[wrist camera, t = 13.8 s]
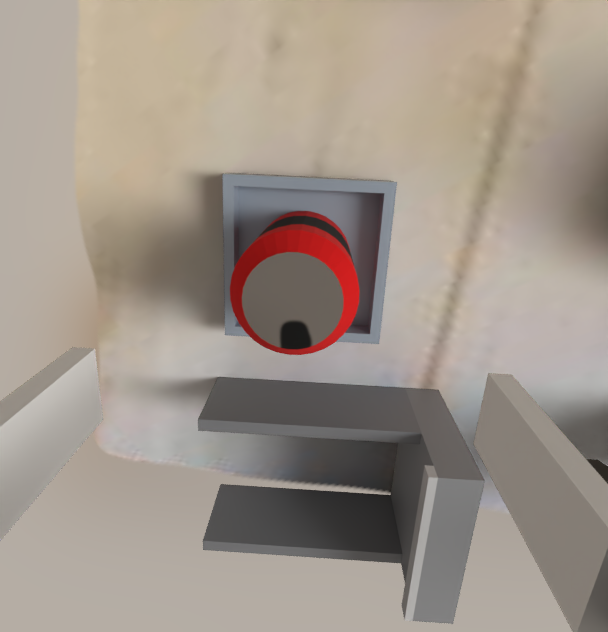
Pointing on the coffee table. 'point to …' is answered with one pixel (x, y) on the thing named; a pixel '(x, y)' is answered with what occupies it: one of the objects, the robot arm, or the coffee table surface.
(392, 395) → the gray open box
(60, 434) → the robot arm
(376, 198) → the tray
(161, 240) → the coffee table surface
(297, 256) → the soda can
